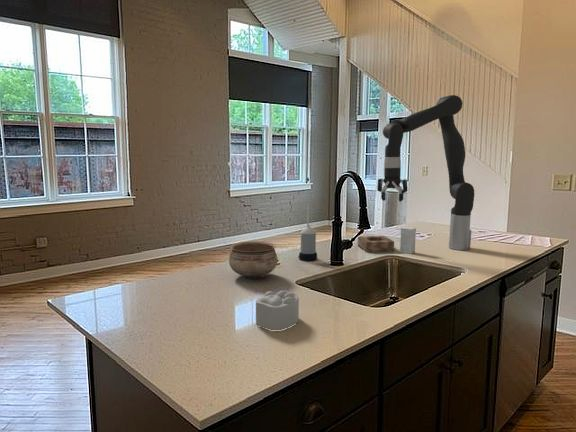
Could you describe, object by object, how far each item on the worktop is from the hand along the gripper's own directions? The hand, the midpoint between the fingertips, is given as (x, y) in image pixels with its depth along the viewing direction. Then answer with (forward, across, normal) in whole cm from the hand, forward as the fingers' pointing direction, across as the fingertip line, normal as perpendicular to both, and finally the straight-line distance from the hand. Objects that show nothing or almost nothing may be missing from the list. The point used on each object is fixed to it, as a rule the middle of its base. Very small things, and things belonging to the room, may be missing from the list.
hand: (392, 200), depth 211 cm
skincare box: (+25, -6, -4) cm, 26 cm away
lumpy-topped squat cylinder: (+24, -12, +101) cm, 104 cm away
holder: (+25, +9, -1) cm, 26 cm away
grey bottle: (+24, +24, +37) cm, 50 cm away
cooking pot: (+23, +25, +72) cm, 80 cm away
